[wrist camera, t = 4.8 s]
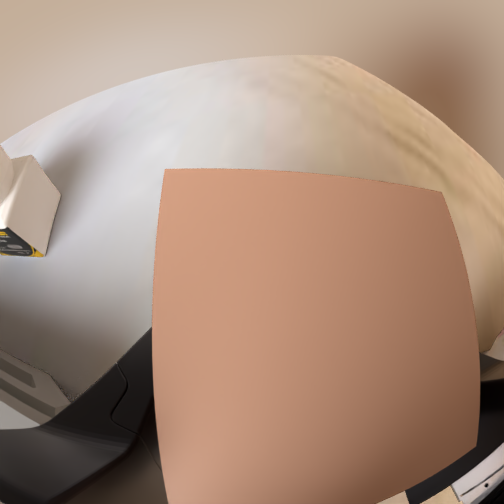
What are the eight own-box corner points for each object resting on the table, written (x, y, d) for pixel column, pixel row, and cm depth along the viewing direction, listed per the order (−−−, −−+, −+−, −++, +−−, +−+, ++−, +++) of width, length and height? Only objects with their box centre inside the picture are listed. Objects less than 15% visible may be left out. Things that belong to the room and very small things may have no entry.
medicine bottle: (2, 256, 20) (-68, 203, 9) (19, 198, 22) (-34, 133, 11) (46, 258, 21) (-31, 195, 9) (62, 194, 23) (10, 115, 12)
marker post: (295, 395, 14) (475, 446, 2) (204, 401, 13) (175, 534, 2) (289, 309, 15) (442, 192, 4) (200, 312, 15) (164, 169, 4)
